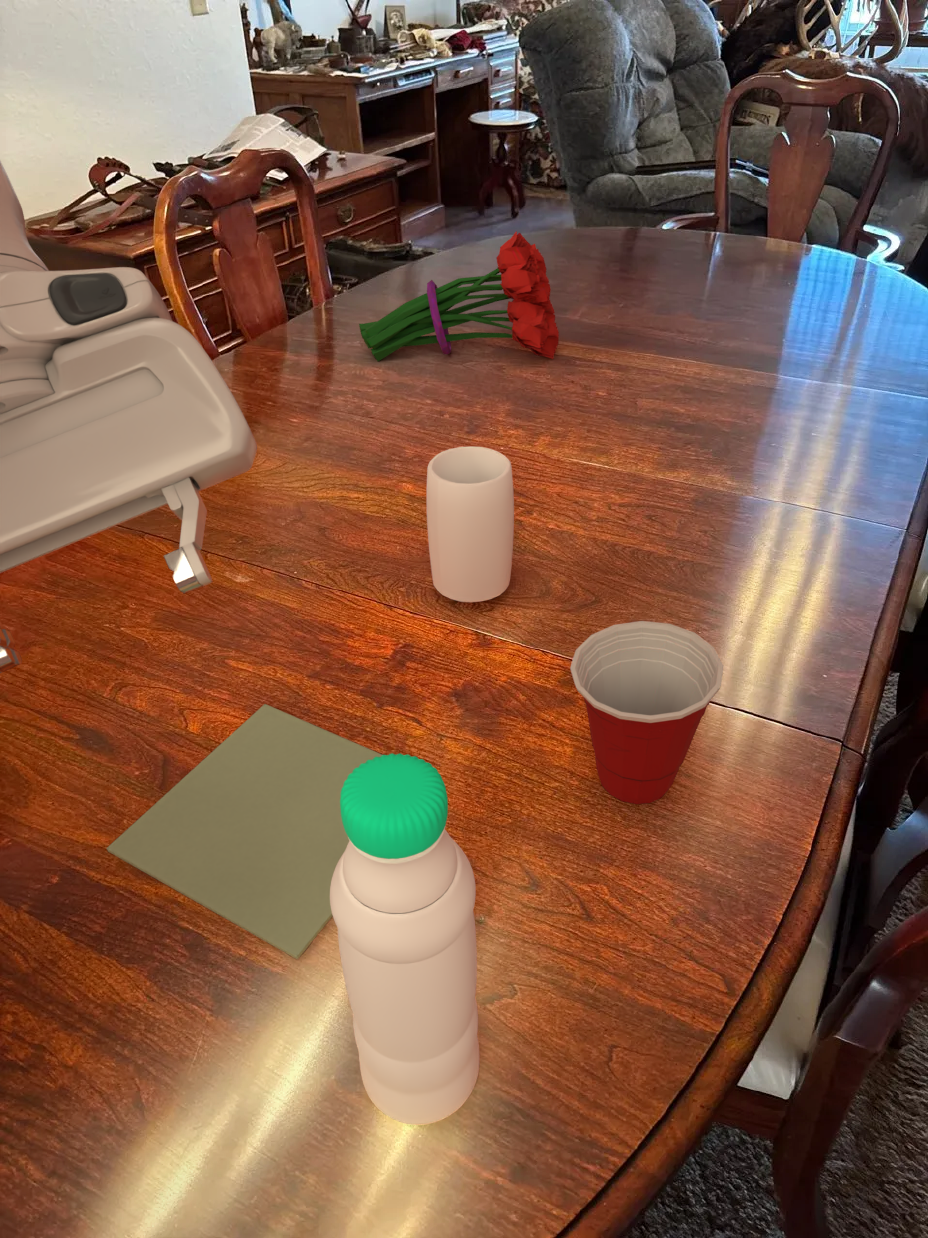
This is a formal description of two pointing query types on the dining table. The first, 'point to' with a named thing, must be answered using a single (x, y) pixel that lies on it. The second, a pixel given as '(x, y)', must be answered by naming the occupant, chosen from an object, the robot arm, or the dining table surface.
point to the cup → (470, 522)
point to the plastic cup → (644, 702)
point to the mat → (255, 828)
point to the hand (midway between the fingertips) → (101, 627)
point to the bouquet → (430, 313)
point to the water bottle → (407, 940)
